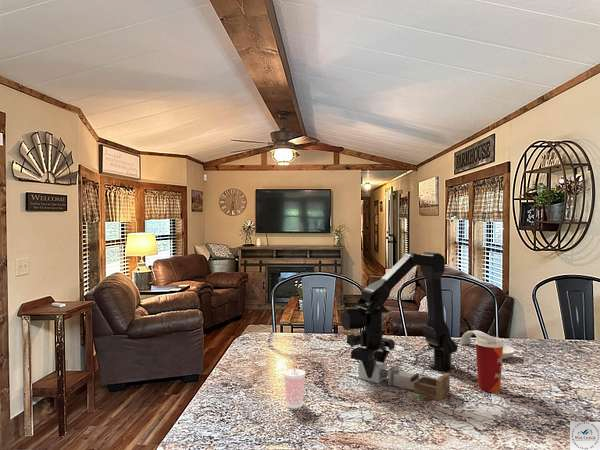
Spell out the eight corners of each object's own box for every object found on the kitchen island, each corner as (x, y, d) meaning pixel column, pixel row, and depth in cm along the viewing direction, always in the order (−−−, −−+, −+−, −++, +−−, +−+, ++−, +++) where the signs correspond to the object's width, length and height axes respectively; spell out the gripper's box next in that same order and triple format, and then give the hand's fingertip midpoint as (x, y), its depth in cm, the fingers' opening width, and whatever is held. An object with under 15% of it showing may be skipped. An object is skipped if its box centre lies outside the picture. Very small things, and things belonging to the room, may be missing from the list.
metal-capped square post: (396, 380, 141) (396, 365, 141) (424, 387, 136) (424, 371, 136) (385, 387, 136) (385, 371, 136) (414, 394, 130) (414, 378, 130)
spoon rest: (522, 360, 162) (522, 340, 162) (497, 364, 158) (497, 343, 158) (475, 343, 184) (475, 326, 184) (452, 346, 180) (452, 328, 180)
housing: (421, 385, 137) (421, 367, 137) (449, 392, 132) (449, 373, 132) (407, 396, 129) (407, 377, 129) (436, 403, 124) (436, 383, 124)
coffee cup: (507, 394, 130) (507, 343, 130) (477, 392, 132) (477, 341, 131) (500, 384, 138) (500, 335, 138) (472, 382, 140) (472, 334, 140)
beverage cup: (284, 400, 127) (283, 350, 126) (305, 400, 126) (305, 350, 126) (282, 409, 121) (282, 357, 120) (305, 409, 120) (305, 357, 120)
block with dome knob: (366, 374, 148) (366, 357, 148) (390, 379, 142) (390, 362, 142) (358, 378, 144) (358, 361, 144) (382, 384, 138) (382, 366, 138)
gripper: (365, 318, 155) (365, 363, 156) (336, 328, 141) (336, 378, 141) (395, 322, 148) (395, 369, 149) (367, 334, 134) (367, 386, 134)
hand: (373, 375), depth 143 cm, fingers closed on block with dome knob, 5 cm apart
